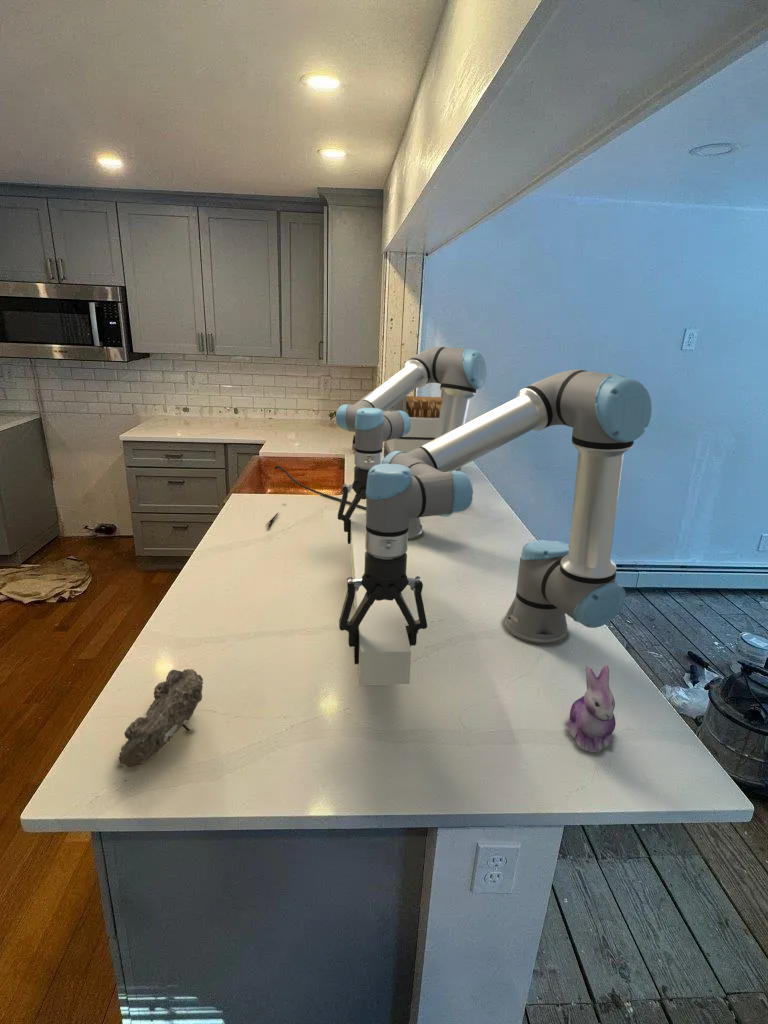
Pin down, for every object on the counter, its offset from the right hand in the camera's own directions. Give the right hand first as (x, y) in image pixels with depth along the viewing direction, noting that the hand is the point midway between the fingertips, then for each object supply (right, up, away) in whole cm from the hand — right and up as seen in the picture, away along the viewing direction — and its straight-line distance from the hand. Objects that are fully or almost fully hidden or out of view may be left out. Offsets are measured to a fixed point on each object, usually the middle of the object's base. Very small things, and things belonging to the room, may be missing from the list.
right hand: (381, 659), depth 108 cm
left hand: (-5, +20, +54) cm, 58 cm away
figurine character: (-14, +61, +203) cm, 213 cm away
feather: (-40, +26, +102) cm, 113 cm away
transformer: (+18, +47, +167) cm, 174 cm away
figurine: (+40, -15, -1) cm, 42 cm away
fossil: (-39, -12, -4) cm, 41 cm away
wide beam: (-2, +9, +27) cm, 29 cm away
